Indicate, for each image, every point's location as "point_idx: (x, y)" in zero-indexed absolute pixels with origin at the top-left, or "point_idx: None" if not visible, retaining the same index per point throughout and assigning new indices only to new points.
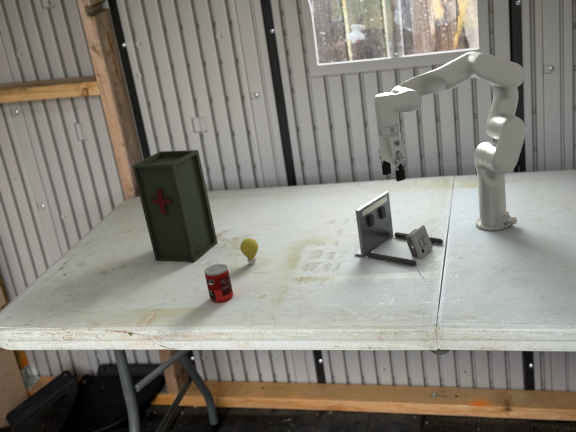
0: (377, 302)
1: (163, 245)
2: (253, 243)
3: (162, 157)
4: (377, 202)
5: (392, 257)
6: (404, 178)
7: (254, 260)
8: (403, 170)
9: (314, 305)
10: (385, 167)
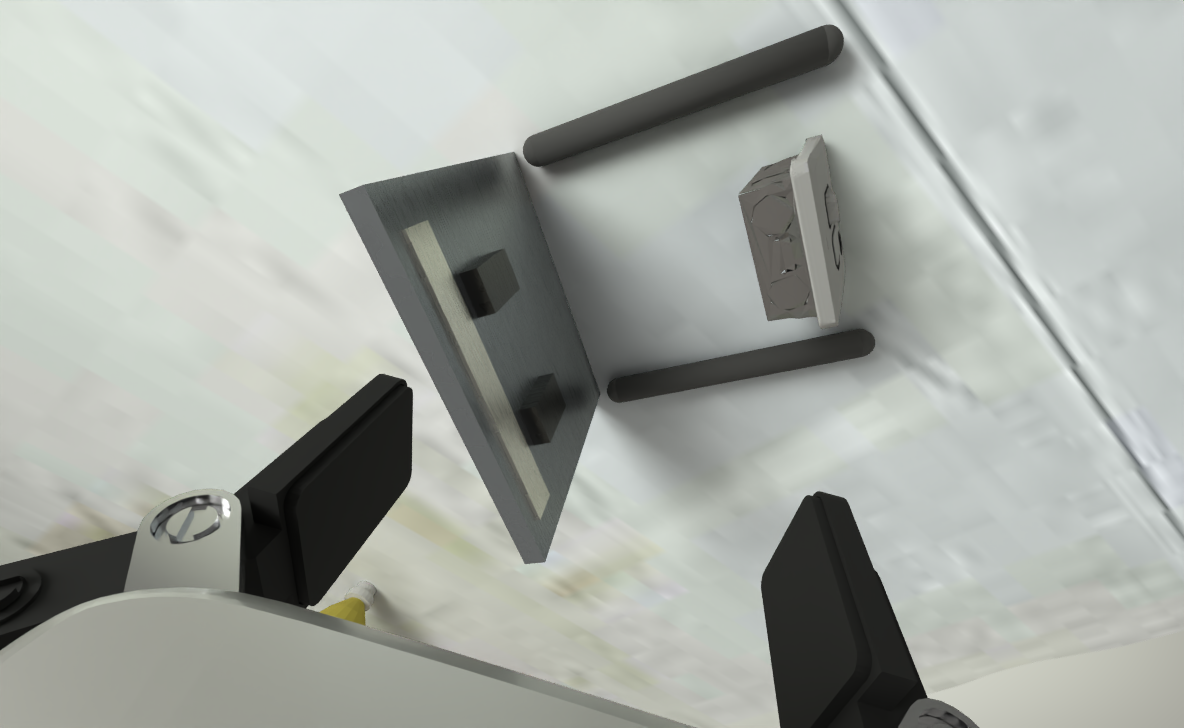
0: (915, 588)
1: None
2: None
3: None
4: (468, 357)
5: (746, 375)
6: (841, 512)
7: (370, 599)
8: (891, 652)
9: (743, 662)
10: (345, 535)
